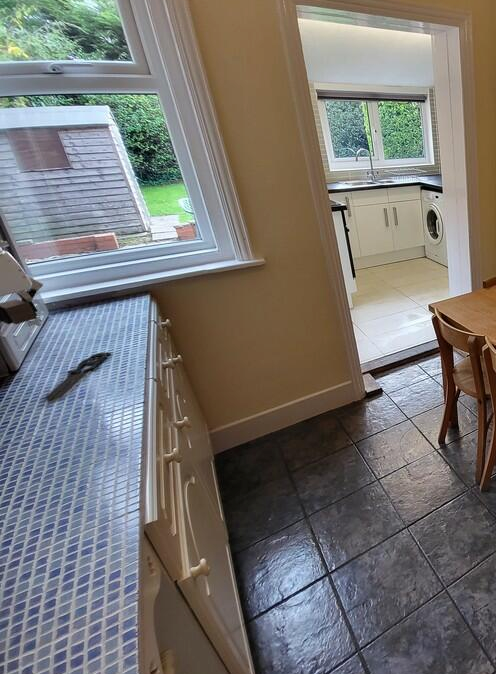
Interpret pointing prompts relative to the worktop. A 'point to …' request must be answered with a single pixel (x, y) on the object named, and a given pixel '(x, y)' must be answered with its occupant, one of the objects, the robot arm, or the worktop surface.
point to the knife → (62, 392)
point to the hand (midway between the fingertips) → (20, 318)
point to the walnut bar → (18, 311)
